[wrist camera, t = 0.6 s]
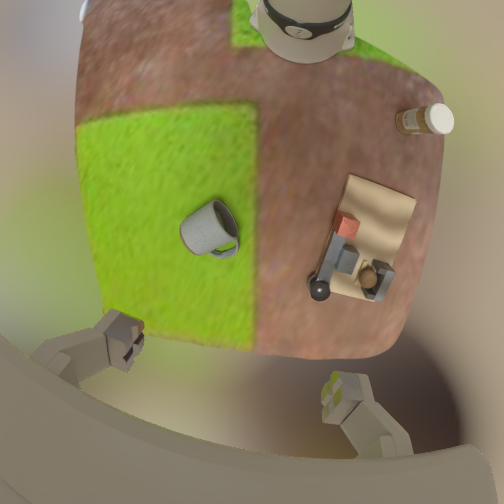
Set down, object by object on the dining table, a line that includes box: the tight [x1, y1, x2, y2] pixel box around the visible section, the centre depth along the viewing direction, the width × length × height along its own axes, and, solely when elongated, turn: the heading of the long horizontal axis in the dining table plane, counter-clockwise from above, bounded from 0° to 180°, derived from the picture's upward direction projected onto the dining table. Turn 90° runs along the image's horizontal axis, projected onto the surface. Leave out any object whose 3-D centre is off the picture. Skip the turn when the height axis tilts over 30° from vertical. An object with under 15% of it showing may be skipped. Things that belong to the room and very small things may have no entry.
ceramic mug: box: [180, 200, 239, 258], centre depth 47 cm, size 11×8×8 cm
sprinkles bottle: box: [396, 103, 454, 135], centre depth 32 cm, size 5×5×14 cm
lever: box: [309, 210, 360, 301], centre depth 45 cm, size 16×6×5 cm, turn 167°
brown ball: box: [359, 269, 377, 289], centre depth 46 cm, size 4×4×4 cm
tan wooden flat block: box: [307, 174, 417, 302], centre depth 45 cm, size 23×15×6 cm, turn 167°
